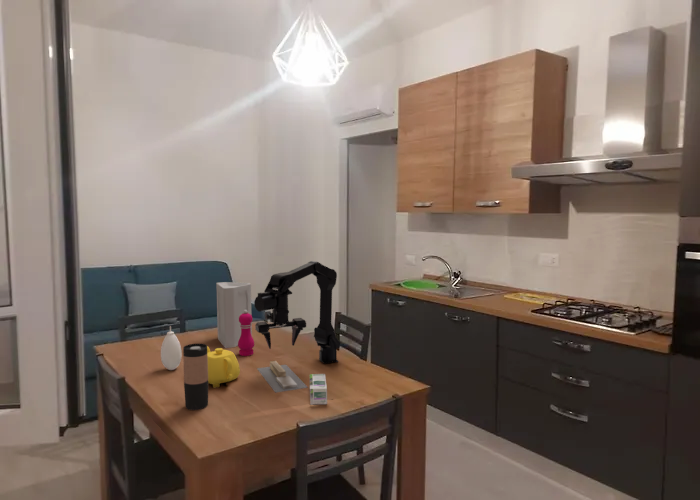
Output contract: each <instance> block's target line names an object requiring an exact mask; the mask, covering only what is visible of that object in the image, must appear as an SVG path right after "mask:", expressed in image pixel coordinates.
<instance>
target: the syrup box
mask: <svg viewBox="0 0 700 500" xmlns="http://www.w3.org/2000/svg"><path fill="white" fill-rule="evenodd" d="M326 379H327V378H326V373H315V374H313V373H312V374H311V373H310V374H309V401H310V406H311V405H313V406H315V405H318V406H319V405H321V406H323V405H327V404H328V388H327V387H328V386H327V380H326Z"/></svg>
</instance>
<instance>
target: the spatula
mask: <svg viewBox="0 0 700 500" xmlns="http://www.w3.org/2000/svg"><path fill="white" fill-rule="evenodd" d="M269 367H270V369H271V370H272V371H273V372H274V374H275V375H276V376H277V377H276V380H277V382H278V383H279V384H280V385H281V387H282V388H283V389H288V388H295V387H297V384H296V383H295V381H294V380H293V379H292V378H291V377H290V376H286V371H285V370H284V369H283V368H282V367H281V366H280V364H279V362H277V360H273V361H269Z"/></svg>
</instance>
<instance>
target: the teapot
mask: <svg viewBox="0 0 700 500" xmlns="http://www.w3.org/2000/svg"><path fill="white" fill-rule="evenodd" d="M207 357H208V385H209V384H210V385H212V388H215V389H216V387H217V388H220V386H221V384H223V383H229V382H231V381H234V380H237V378H238V377H239V375H240V373H241V370H240V364H239V361H238V359H237V357H236V355H235V353H234V352H233V351H231V350H228V349H224V348H222V347H217V348H215V349H214V351H213V350H212V351H211V349H210V347H209V346H208V345H207Z"/></svg>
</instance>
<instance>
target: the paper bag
mask: <svg viewBox="0 0 700 500" xmlns="http://www.w3.org/2000/svg"><path fill="white" fill-rule="evenodd" d="M244 310H247V311H248V312H247V313H249V314H251V315H252V283H251V282H229V281H224V282H223V281H222V282H216V313H217V314H216V315H217V316H216V317H217V319H216V320H217V321H216V322H217V339H218V341H219V342H220V343H221V345H222V347H223V348H225V349H229V348H235V347H238V341H239V339H240V336H241V328H240V324H241V323H240V322H239V316H240V315H241V314H243V313H244ZM252 322H253V321H252ZM252 322H251V324H253V323H252ZM251 326H252V325H251ZM252 329H253V328H252V327H251V335H252V336H253V330H252Z"/></svg>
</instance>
